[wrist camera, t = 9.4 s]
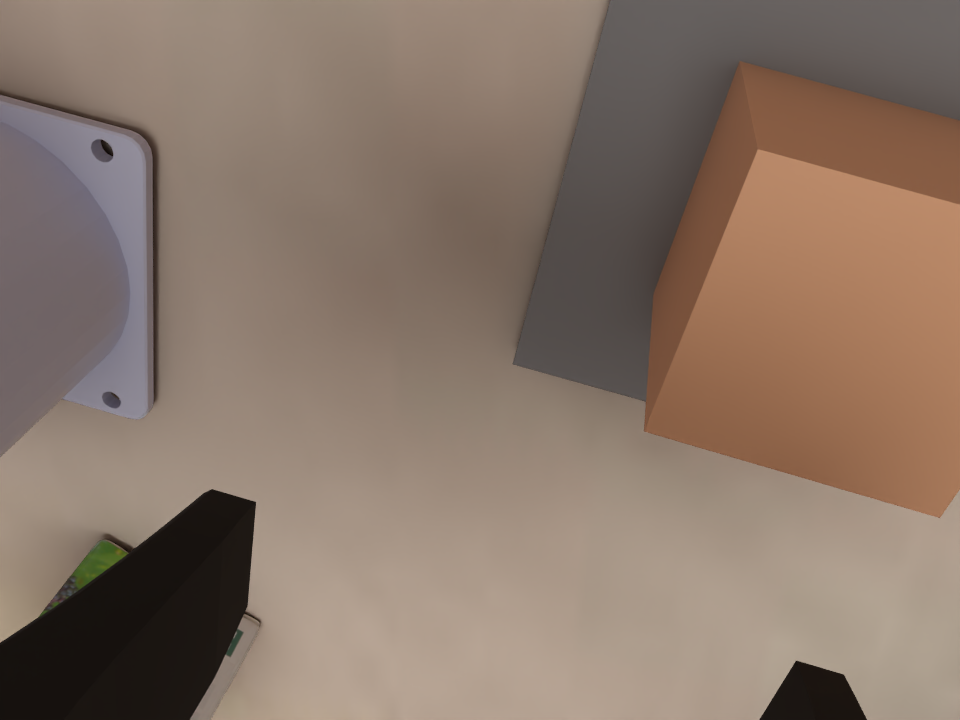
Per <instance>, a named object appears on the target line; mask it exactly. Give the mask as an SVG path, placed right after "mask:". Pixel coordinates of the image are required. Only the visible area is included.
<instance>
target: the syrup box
mask: <svg viewBox="0 0 960 720" xmlns="http://www.w3.org/2000/svg"><path fill="white" fill-rule="evenodd" d="M127 554H128V552H127V551H125V550H124V549H123V548H121V547H120V546H118V545H116V544H115V543H113V542H111V541H109V540H100V541H99V542H98V543H97V544H96V545H95V546H94V547H93V548H92V550H91V551H90V552H89V553H88V555H87V556H86V557H85V558H84V560H83V561H82V562H81V564H80V565H79V566H78V567H77V569H76V570H75V571H74V572H73V574H72V575H71V576H70V577H69V579H68V580H67V581H66V583H65V584H64V585H63V586H62V588H61V589H60V590H59V591H58V593H57V594H56V595H55V596H54V598H53V599H52V600H51V602H50V603H49V604H48V605H47V607H46V608H45V609H44V611H43V612H42V613H41V614H40V616H42V615H43V614H45V613H46V612H48V611H49V610H51V609H52V608H54V607H55V606H57V605H58V604H60V603H61V602H63V601H64V600H65V599H67V598H68V597H70V596H71V595H73V594H74V593H75V592H77V591H78V590H80V589H81V588H82V587H84V586H85V585H86V584H88V583H89V582H90V581H92V580H93V579H95V578H96V577H97V576H99V575H100V574H101V573H103V572H104V571H105V570H107V569H108V568H110V567H111V566H112V565H114V564H115V563H116V562H118V561H119V560H121V559H122V558H123V557H125V556H126V555H127ZM40 616H39V617H40ZM259 625H260V623H259V622H258V621H257V620H256V619H254V618H252V617H250V616H248V615H246V614H244V615H243V617H242V619H241V622H240V624H239V626H238V628H237V631H236V633H235V635H234V637H233V640H232V642H231V644H230V646H229V648H228V650H227V653H226V655H225V657H224V659H223V661H222V663H221V665H220V668H219V670H218V672H217V674H216V676H215V678H214V680H213V681H212V683H211V685H210V686H209V688H208V690H207V692H206V693H205V695H204V697H203V698H202V700H201V702H200V703H199V705H198V707H197V708H196V710H195V712H194V713H193V715H192V717H191V718H190V720H211V718H212V717H213V715H214V713H215V711H216V709H217V707H218V705H219V703H220V702H221V700H222V698H223V696H224V695H225V693H226V691H227V689H228V687H229V686H230V684H231V682H232V680H233V679H234V677H235V675H236V673H237V671H238V670H239V668H240V666H241V664H242V662H243V661H244V659H245V657H246V655H247V653H248V651H249V649H250V648H251V646H252V644H253V642H254V640H255V638H256V636H257V634H258V631H259Z"/></svg>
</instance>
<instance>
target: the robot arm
mask: <svg viewBox="0 0 960 720" xmlns="http://www.w3.org/2000/svg"><path fill="white" fill-rule="evenodd" d="M101 139H102V140H104V141H106V142H108V144H109V145H110V146H111V147H112V150H113V156H110V155H109V154H107V153H106V152H105V151H104V150H103V148H102V145H101ZM111 392H112V393H114V394H116V395H117V396H118V397H119V398H120V400H119V399H117V398H115V397H114V396H113V395H112V394H111ZM61 399H64V400H67V401H71V402H74V403H78V404H81V405H85V406H88V407H92V408H95V409H98V410H102V411H105V412H109V413H112V414H116V415H119V416H122V417H126V418H129V419H136V420H138V419H142V418H144V417H145V416H146V415H147V414H148V412H149V411H150V410H151V409H152V407H153V403H154V391H153V157H152V152H151V148H150V146H149V145H148V143H147V141H146V140H145V139H144V138H143V137H142V136H141V135H140V134H138V133H136V132H134V131H131V130H128V129H124V128H121V127H117V126H113V125H110V124H106V123H102V122H99V121H95V120H91V119H88V118H84V117H80V116H77V115H73V114H69V113H65V112H62V111H58V110H54V109H51V108H47V107H43V106H40V105H36V104H32V103H29V102H25V101H21V100H18V99H14V98H10V97H7V96H3V95H0V457H1V456H2V455H3V454H4V453H5V452H6V451H8V450H9V449H10V448H11V447H12V446H13V445H14V444H15V443H16V442H17V441H18V440H19V439H20V438H21V437H22V436H23V435H24V434H25V433H26V432H27V431H29V430H30V429H31V428H32V427H33V426H34V425H35V424H36V423H37V422H38V421H39V420H40V419H41V418H42V417H43V416H44V415H45V414H46V413H47V412H49V411H50V410H51V409H52V408H53V407H54V406H55V405H56V404H57V403H58V402H59V401H60V400H61ZM255 508H256V502H254V501H250V500H247V499H244V498H240V497H237V496H233V495H230V494H227V493H223V492H220V491H216V490H213V489H212V490H210V491H208V492H205V493H203V494H202V495H201V496H200V497H199V498H197V499H196V500H195V501H194V502H193V503H191V504H190V505H189V506H188V507H187V508H185V509H184V510H183V511H182V512H180V513H179V514H178V515H177V516H175V517H174V518H173V519H172V520H171V521H169V522H168V523H167V524H166V525H164V526H163V527H162V528H161V529H159V530H158V531H157V532H156V533H154V534H153V535H152V536H150V537H149V538H148V539H147V540H145V541H144V542H143V543H141V544H140V545H139V546H138V547H136V548H135V549H134V550H132V551H131V552H130V553H128V554H127V555H126V556H125V557H123V558H122V559H121V560H119V561H118V562H116V563H115V564H114V565H112V566H111V567H110V568H108V569H107V570H105V571H104V572H103V573H101V574H100V575H99V576H97V577H96V578H95V579H93V580H92V581H90V582H89V583H88V584H86V585H85V586H84V587H82V588H81V589H80V590H78V591H77V592H75V593H74V594H73V595H71V596H70V597H68V598H67V599H65V600H64V601H63V602H61V603H60V604H58V605H57V606H55V607H54V608H52V609H51V610H49V611H48V612H46V613H45V614H43V615H42V616H40V617H38V618H37V619H35V620H34V621H32V622H31V623H29V624H28V625H26V626H25V627H23V628H22V629H20V630H19V631H17V632H16V633H14V634H13V635H11V636H10V637H8V638H7V639H5V640H4V641H2V642H1V643H0V720H190V718H191V717H192V715H193V713H194V712H195V710H196V708H197V707H198V705H199V703H200V702H201V700H202V698H203V697H204V695H205V693H206V692H207V690H208V688H209V686H210V685H211V683H212V681H213V680H214V678H215V676H216V674H217V672H218V670H219V668H220V665H221V663H222V661H223V659H224V657H225V655H226V653H227V650H228V648H229V646H230V644H231V642H232V640H233V637H234V635H235V633H236V631H237V628H238V626H239V624H240V622H241V619H242V617H243V615H244V613H245V611H246V608H247V605H248V593H249V581H250V569H251V556H252V544H253V532H254V520H255ZM760 720H867V719H866V717H865V715H864V713H863V711H862V709H861V707H860V705H859V703H858V701H857V699H856V697H855V695H854V693H853V691H852V689H851V687H850V686H849V684H848V682H847V680H846V678H845V676H844V675H843V674H840V673H836V672H833V671H830V670H826V669H823V668H819V667H816V666H813V665H809V664H806V663H802V662H799V661H796V662H795V663H794V665H793V667H792V668H791V670H790V672H789V673H788V675H787V676H786V678H785V680H784V681H783V683H782V684H781V686H780V688H779V689H778V691H777V692H776V694H775V696H774V697H773V699H772V700H771V702H770V704H769V705H768V707H767V709H766V710H765V712H764V713H763V715H762V717H761V718H760Z"/></svg>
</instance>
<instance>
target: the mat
mask: <svg viewBox="0 0 960 720" xmlns="http://www.w3.org/2000/svg"><path fill="white" fill-rule="evenodd" d="M740 61H742V62H745V63H749V64H753V65H756V66H760V67H764V68H767V69H771V70H775V71H778V72H782V73H786V74H790V75H793V76H797V77H801V78H804V79H808V80H812V81H815V82H819V83H823V84H826V85H830V86H834V87H838V88H841V89H845V90H849V91H852V92H856V93H860V94H863V95H867V96H871V97H875V98H878V99H882V100H886V101H889V102H893V103H897V104H900V105H904V106H908V107H911V108H915V109H919V110H923V111H926V112H930V113H934V114H937V115H941V116H945V117H948V118H952V119H956V120H960V0H610V3H609V7H608V11H607V15H606V18H605V22H604V26H603V29H602V33H601V37H600V41H599V44H598V48H597V52H596V56H595V59H594V63H593V67H592V71H591V74H590V78H589V82H588V86H587V89H586V93H585V97H584V100H583V104H582V108H581V112H580V115H579V119H578V123H577V127H576V130H575V134H574V138H573V142H572V145H571V149H570V153H569V156H568V160H567V164H566V168H565V171H564V175H563V179H562V183H561V186H560V190H559V194H558V198H557V201H556V205H555V209H554V212H553V216H552V220H551V224H550V227H549V231H548V235H547V239H546V242H545V246H544V250H543V254H542V257H541V261H540V265H539V269H538V272H537V276H536V280H535V283H534V287H533V291H532V295H531V298H530V302H529V306H528V310H527V313H526V317H525V321H524V325H523V328H522V332H521V336H520V339H519V343H518V347H517V351H516V354H515V358H514V362H513V364H514V365H517V366H521V367H525V368H528V369H532V370H535V371H539V372H542V373H546V374H550V375H553V376H557V377H560V378H564V379H567V380H571V381H575V382H578V383H582V384H585V385H589V386H592V387H596V388H600V389H603V390H607V391H610V392H614V393H617V394H621V395H625V396H628V397H632V398H635V399H639V400H642V401H646V395H647V381H648V366H649V351H650V336H651V322H652V307H653V294H654V291H655V288H656V286H657V283H658V280H659V278H660V275H661V272H662V270H663V267H664V264H665V261H666V259H667V256H668V253H669V251H670V248H671V245H672V243H673V240H674V237H675V234H676V232H677V229H678V226H679V224H680V221H681V218H682V216H683V213H684V210H685V207H686V205H687V202H688V199H689V197H690V194H691V191H692V188H693V186H694V183H695V180H696V178H697V175H698V172H699V170H700V167H701V164H702V161H703V159H704V156H705V153H706V151H707V148H708V145H709V143H710V140H711V137H712V134H713V132H714V129H715V126H716V124H717V121H718V118H719V116H720V113H721V110H722V107H723V105H724V102H725V99H726V97H727V94H728V91H729V89H730V86H731V83H732V80H733V78H734V75H735V72H736V70H737V67H738V64H739V62H740Z"/></svg>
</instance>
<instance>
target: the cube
mask: <svg viewBox="0 0 960 720" xmlns="http://www.w3.org/2000/svg"><path fill="white" fill-rule="evenodd" d="M644 432H648V433H651V434H655V435H658V436H662V437H665V438H668V439H672V440H675V441H679V442H682V443H686V444H689V445H692V446H696V447H699V448H703V449H706V450H709V451H713V452H716V453H720V454H723V455H727V456H730V457H733V458H737V459H740V460H744V461H747V462H750V463H754V464H757V465H761V466H764V467H768V468H771V469H774V470H778V471H781V472H785V473H788V474H791V475H795V476H798V477H802V478H805V479H809V480H812V481H815V482H819V483H822V484H826V485H829V486H833V487H836V488H839V489H843V490H846V491H850V492H853V493H856V494H860V495H863V496H867V497H870V498H874V499H877V500H880V501H884V502H887V503H891V504H894V505H897V506H901V507H904V508H908V509H911V510H915V511H918V512H921V513H925V514H928V515H932V516H935V517H938V518H940V517H941V516H942V514H943V513H944V511H945V510H946V508H947V507H948V505H949V504H950V503H951V501H952V500H953V498H954V497H955V495H956V494H957V492H958V491H959V489H960V120H956V119H952V118H948V117H945V116H941V115H937V114H934V113H930V112H926V111H923V110H919V109H915V108H911V107H908V106H904V105H900V104H897V103H893V102H889V101H886V100H882V99H878V98H875V97H871V96H867V95H863V94H860V93H856V92H852V91H849V90H845V89H841V88H838V87H834V86H830V85H826V84H823V83H819V82H815V81H812V80H808V79H804V78H801V77H797V76H793V75H790V74H786V73H782V72H778V71H775V70H771V69H767V68H764V67H760V66H756V65H753V64H749V63H745V62H742V61H740V62H739V64H738V67H737V70H736V72H735V75H734V78H733V80H732V83H731V86H730V89H729V91H728V94H727V97H726V99H725V102H724V105H723V107H722V110H721V113H720V116H719V118H718V121H717V124H716V126H715V129H714V132H713V134H712V137H711V140H710V143H709V145H708V148H707V151H706V153H705V156H704V159H703V161H702V164H701V167H700V170H699V172H698V175H697V178H696V180H695V183H694V186H693V188H692V191H691V194H690V197H689V199H688V202H687V205H686V207H685V210H684V213H683V216H682V218H681V221H680V224H679V226H678V229H677V232H676V234H675V237H674V240H673V243H672V245H671V248H670V251H669V253H668V256H667V259H666V261H665V264H664V267H663V270H662V272H661V275H660V278H659V280H658V283H657V286H656V288H655V291H654V294H653V307H652V322H651V336H650V351H649V366H648V381H647V395H646V410H645V425H644Z"/></svg>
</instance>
